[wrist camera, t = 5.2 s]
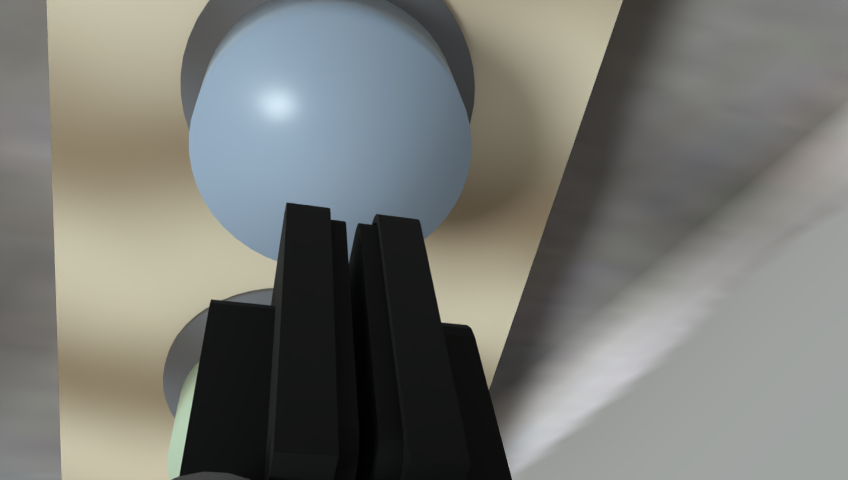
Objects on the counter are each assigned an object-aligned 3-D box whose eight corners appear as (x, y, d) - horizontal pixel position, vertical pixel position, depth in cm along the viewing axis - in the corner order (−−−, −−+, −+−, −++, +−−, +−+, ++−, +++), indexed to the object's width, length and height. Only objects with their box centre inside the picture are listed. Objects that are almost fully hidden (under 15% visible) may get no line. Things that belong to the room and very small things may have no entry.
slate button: (211, -38, 14) (198, -9, 12) (484, 14, 15) (502, 46, 13) (193, 207, 16) (180, 255, 15) (427, 236, 17) (437, 284, 16)
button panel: (76, -219, 15) (36, -210, 13) (610, -98, 17) (651, -74, 15) (85, 586, 28) (65, 658, 26) (392, 594, 30) (397, 661, 28)
